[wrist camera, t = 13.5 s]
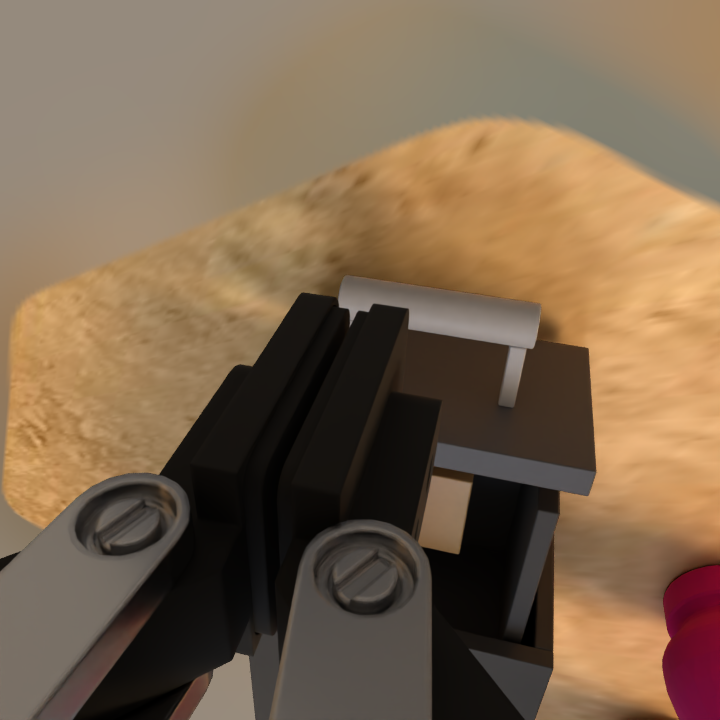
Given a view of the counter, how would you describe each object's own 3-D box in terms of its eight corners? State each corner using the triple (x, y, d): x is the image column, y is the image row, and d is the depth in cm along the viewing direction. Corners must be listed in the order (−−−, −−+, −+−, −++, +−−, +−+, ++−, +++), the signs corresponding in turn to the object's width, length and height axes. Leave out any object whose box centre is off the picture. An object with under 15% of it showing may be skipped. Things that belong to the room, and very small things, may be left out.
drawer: (311, 216, 29) (241, 305, 22) (614, 256, 26) (631, 368, 20) (312, 506, 39) (265, 623, 32) (531, 553, 37) (525, 688, 30)
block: (381, 466, 34) (360, 534, 31) (386, 397, 32) (364, 461, 28) (470, 484, 33) (459, 555, 30) (482, 414, 31) (472, 483, 27)
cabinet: (306, 452, 38) (242, 594, 30) (554, 501, 35) (553, 669, 28) (308, 609, 46) (258, 752, 38) (509, 657, 44) (498, 820, 36)
